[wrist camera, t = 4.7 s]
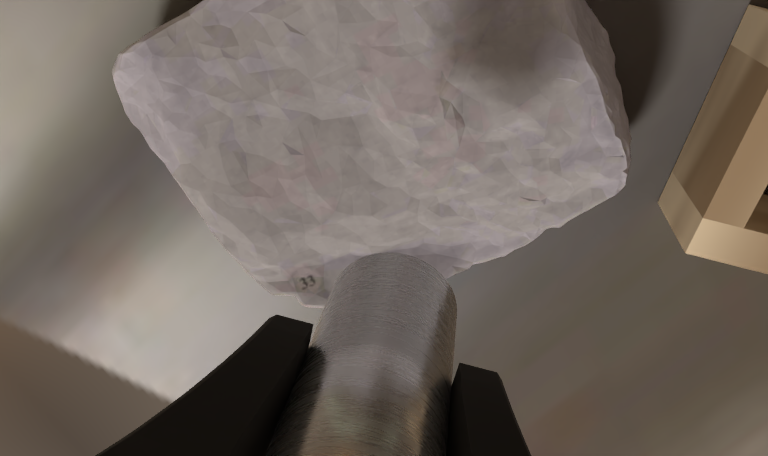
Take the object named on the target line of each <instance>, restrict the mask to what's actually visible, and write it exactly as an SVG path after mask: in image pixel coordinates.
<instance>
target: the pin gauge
mask: <svg viewBox="0 0 768 456" xmlns="http://www.w3.org/2000/svg"><path fill="white" fill-rule="evenodd" d="M456 319H457V304H456V299H455V295H454V293H453V291H452V288H451V287H450V285H449V283H448V282H447V281H446V279H445V278H444V277H443V276H442V275H441V274H440V273H439V272H438V271H437V270H436V269H435V268H433V267H432V266H431V265H429V264H428V263H426V262H424V261H422V260H420V259H418V258H416V257H413V256H410V255H406V254H401V253H392V252H385V253H376V254H371V255H367V256H364V257H362V258H360V259H357V260H356V261H354V262H352V263H351V264H349V265H348V266H347V267H346V268H345V269H344V270H343V271H342V272H341V273H340V274H339V276H338V277H337V279H336V280H335V283H334V285H333V287H332V290H331V292H330V295H329V297H328V300H327V302H326V305H325V307H324V310H323V312H322V315H321V317H320V320H319V322H318V325H317V327H316V330H315V332H314V335H313V337H312V340H311V342H310V345H309V348H308V351H307V353H306V356H305V358H304V361H303V363H302V366H301V368H300V371H299V373H298V376H297V378H296V381H295V383H294V386H293V388H292V391H291V393H290V395H289V398H288V400H287V403H286V405H285V407H284V410H283V412H282V415H281V417H280V420H279V422H278V425H277V427H276V430H275V432H274V435H273V437H272V440H271V442H270V445H269V447H268V450H267V452H266V455H265V456H446V452H447V438H448V425H449V411H450V398H451V386H452V372H453V359H454V346H455V332H456Z"/></svg>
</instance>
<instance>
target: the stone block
mask: <svg viewBox="0 0 768 456" xmlns="http://www.w3.org/2000/svg"><path fill="white" fill-rule="evenodd" d="M112 74H113V80H114V83H115V86H116V89H117V92H118V94H119V97H120V99H121V102H122V104H123V107H124V110H125V113H126V114H127V116H128V117H129V119H130V121H131V122H132V124H134V125H135V126H136V127H137V128H138V129H139V130H140V131H141V133H142V135H143V136H144V138H145V140H146V141H147V143H148V145H149V146H150V148H151V149H152V150H153V151H154V152H155V153H156V155H157V156H158V157H159V158H160V159H161V160H162V161H163V162H164V163H165V165H166V166H167V168H168V169H169V171H170V173H171V174H172V176H173V177H174V178H175V180H176V181H177V182H178V184H179V185H180V186H181V188H182V189H183V191H184V192H185V194H186V195H187V197H188V198H189V200H190V201H191V202H192V204H193V205H194V206H195V208H196V209H197V211H198V212H199V214H200V215H201V217H202V218H203V220H204V221H205V223H206V224H207V225H208V227H209V229H210V231H211V232H212V233H213V235H214V236H215V237H216V238H217V240H218V241H219V242H220V243H221V245H222V246H223V247H224V248H225V249H226V251H227V252H228V253H229V254H230V255H231V256H232V257H233V258H234V259H235V260H236V261H237V262H238V263H239V264H240V265H241V266H242V267H243V269H244V270H245V271H246V272H247V273H248V274H249V275H250V276H251V277H252V278H253V279H255V280H256V281H257V282H258V283H259V284H260V285H261V286H262V287H263V288H264V289H266V290H267V291H268V292H270V293H271V294H272V295H282V296H295V297H296V298H297V300H298V301H299V302H300V304H301V305H303V306H306V307H314V308H324V307H325V305H326V302H327V300H328V297H329V295H330V292H331V290H332V287H333V285H334V283H335V280H336V279H337V277H338V276H339V274H340V273H341V272H342V271H343V270H344V269H345V268H346V267H347V266H348V265H349V264H351V263H352V262H354V261H356V260H357V259H360V258H362V257H364V256H367V255H371V254H376V253H385V252H392V253H401V254H406V255H410V256H413V257H416V258H418V259H420V260H422V261H424V262H426V263H428V264H429V265H431V266H432V267H433V268H435V269H436V270H437V271H438V272H439V273H440V274H441V275H442V276H443V277H444V278H445V279H446V278H448V277H450V276H452V275H455V274H457V273H459V272H462V271H464V270H467V269H469V268H470V267H471V265H472V264H477V263H482V262H486V261H489V260H492V259H495V258H498V257H504V256H505V255H507V254H509V253H510V252H512V251H513V250H515V249H518V248H520V247H523V246H525V245H526V244H528V243H530V242H531V241H533V240H534V239H535V238H537V237H538V236H539V235H541V234H542V233H543V231H544V230H545V229H547V228H551V227H558V228H560V227H561V226H563V225H564V224H565V223H566V222H568V221H569V220H571V219H573V218H574V217H576V216H578V215H580V214H581V213H583V212H585V211H588V210H589V209H591V208H593V207H594V206H596V205H598V204H600V203H602V202H603V201H605V200H607V199H609V198H611V197H613V196H614V195H616V194H617V193H618V192H619V191H620V190H621V189H622V188H623V187H624V186H625V182H626V178H627V175H628V171H629V167H630V163H631V152H630V142H631V140H632V138H631V135H630V130H629V122H628V117H627V114H626V112H625V108H624V104H623V96H622V90H621V85H620V83H619V81H618V79H617V77H616V72H615V55H614V52H613V50H612V47H611V45H610V41H609V35H608V33H607V31H606V29H604V28H603V27H602V25H601V24H600V22H599V20H598V18H597V17H596V16H595V14H594V13H593V12H592V10H591V9H590V7H589V6H588V4H587V2H586V1H585V0H203V1H202V2H200V3H199V4H197V5H196V6H194V7H193V8H191V9H190V10H188V11H187V12H185V13H183V14H181V15H180V16H178V17H176V18H174V19H172V20H170V21H169V22H167V23H165V24H163V25H161V26H159V27H158V28H156V29H154V30H153V31H151V32H149V33H147V34H146V35H144V36H143V37H142V38H141V39H140V40H138V41H136V42H135V43H133V44H132V45H130V46H128V47H127V48H126V49H124V50H123V51H122V52H121V53H119V55H118V56H117V58H116V61H115V64H114V67H113V70H112Z"/></svg>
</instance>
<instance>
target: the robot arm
mask: <svg viewBox="0 0 768 456" xmlns="http://www.w3.org/2000/svg"><path fill="white" fill-rule="evenodd" d="M312 328H313V324H310V323H306V322H303V321H299V320H295V319H291V318H287V317H284V316H280V315H275V316H273V317H271V318H269V319H268V320H267V321H266V322H265V323H264V324H263V325H262V326H261V327H260V328H259V329H258V330H257V331H256V332H255V333H254V334H253V335H252V336H251V337H250V338H249V339H248V340H247V341H246V342H245V343H244V344H243V345H241V346H240V347H239V348H238V349H237V350H236V351H235V352H234V353H233V354H232V355H230V356H229V357H228V358H227V359H226V360H225V361H224V362H222V363H221V364H220V365H219V366H218V367H216V368H215V369H214V370H213V371H212V372H210V373H209V374H208V375H207V376H206V377H204V378H203V379H202V380H201V381H200V382H198V383H197V384H196V385H195V386H194V387H192V388H191V389H190V390H189V391H187V392H186V393H185V394H183V395H182V396H181V397H179V398H178V399H177V400H175V401H174V402H173V403H171V404H170V405H169V406H168V407H166V408H165V409H163V410H162V411H160V412H159V413H158V414H157V415H155V416H154V417H152V418H151V419H150V420H148V421H147V422H145V423H144V424H143V425H141V426H140V427H138V428H137V429H136V430H134V431H133V432H131V433H130V434H128V435H127V436H125V437H124V438H122V439H121V440H119V441H118V442H116V443H115V444H113V445H111V446H110V447H108V448H107V449H105V450H104V451H102V452H101V453H99V454H97V455H96V456H265V455H266V452H267V450H268V447H269V445H270V442H271V440H272V437H273V435H274V432H275V430H276V427H277V425H278V422H279V420H280V417H281V415H282V412H283V410H284V407H285V405H286V403H287V400H288V398H289V395H290V393H291V391H292V388H293V386H294V383H295V381H296V378H297V376H298V373H299V371H300V368H301V366H302V363H303V361H304V358H305V356H306V353H307V351H308V348H309V343H310V338H311V333H312ZM446 456H531V454H530V452H529V450H528V447H527V445H526V443H525V440H524V438H523V435H522V433H521V430H520V428H519V425H518V423H517V420H516V418H515V415H514V413H513V410H512V408H511V405H510V402H509V399H508V397H507V394H506V391H505V388H504V386H503V383H502V380H501V378H500V377H499V375H498V373H497V372H493V371H489V370H485V369H482V368H478V367H474V366H470V365H466V364H463V363H459V366H458V369H457V372H456V375H455V378H454V381H453V384H452V386H451V398H450V411H449V425H448V438H447V452H446Z"/></svg>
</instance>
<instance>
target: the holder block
mask: <svg viewBox="0 0 768 456" xmlns="http://www.w3.org/2000/svg"><path fill="white" fill-rule="evenodd" d="M767 185H768V9H766V8H762V7H758V6H754V5H750V4H749V5H748V7H747V9H746V12H745V14H744V16H743V18H742V20H741V23H740V25H739V27H738V29H737V31H736V33H735V36H734V38H733V40H732V42H731V44H730V46H729V49H728V51H727V53H726V55H725V57H724V59H723V62H722V64H721V66H720V68H719V70H718V73H717V75H716V77H715V79H714V81H713V83H712V86H711V88H710V90H709V92H708V94H707V96H706V99H705V101H704V103H703V105H702V107H701V109H700V112H699V114H698V116H697V118H696V120H695V122H694V125H693V127H692V129H691V131H690V133H689V136H688V138H687V140H686V142H685V144H684V146H683V149H682V151H681V153H680V155H679V157H678V159H677V162H676V164H675V166H674V168H673V170H672V172H671V175H670V177H669V179H668V181H667V183H666V185H665V188H664V190H663V192H662V194H661V196H660V199H659V201H658V204H659V206H660V208H661V210H662V212H663V214H664V215H665V217H666V219H667V221H668V223H669V224H670V226H671V228H672V230H673V232H674V234H675V235H676V237H677V239H678V241H679V243H680V245H681V246H682V248H683V250H684V252H685V253H687V254H691V255H695V256H699V257H703V258H706V259H710V260H714V261H718V262H722V263H726V264H730V265H734V266H738V267H742V268H746V269H750V270H754V271H757V272H761V273H765V274H768V195H764V194H763V192H764V190H765V188H766V187H767Z"/></svg>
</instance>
